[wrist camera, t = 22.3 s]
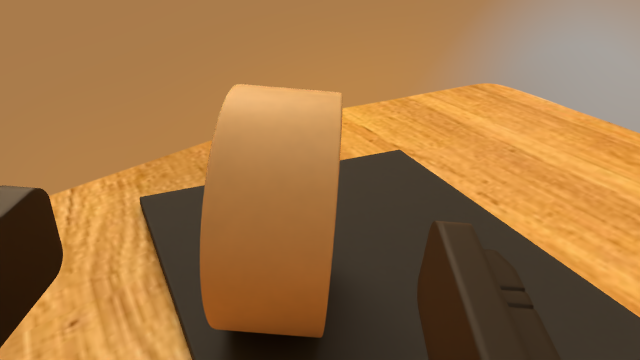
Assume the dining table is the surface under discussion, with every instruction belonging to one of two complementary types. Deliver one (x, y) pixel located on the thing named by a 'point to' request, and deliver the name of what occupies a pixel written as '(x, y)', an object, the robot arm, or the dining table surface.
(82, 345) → the dining table surface
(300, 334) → the tape roll
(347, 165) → the mat
